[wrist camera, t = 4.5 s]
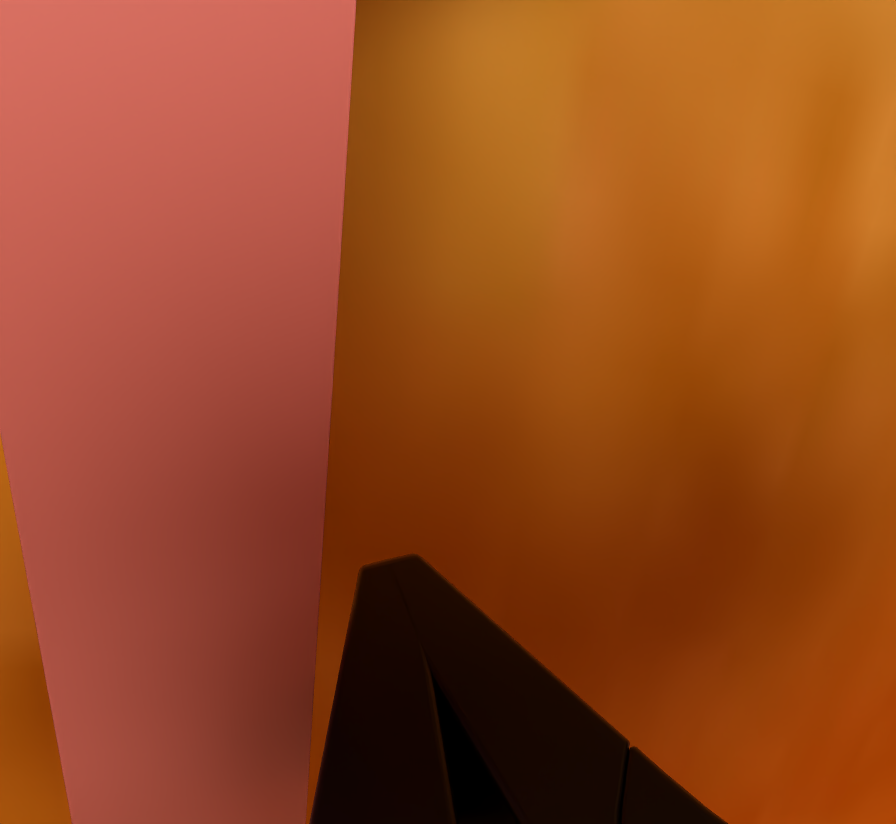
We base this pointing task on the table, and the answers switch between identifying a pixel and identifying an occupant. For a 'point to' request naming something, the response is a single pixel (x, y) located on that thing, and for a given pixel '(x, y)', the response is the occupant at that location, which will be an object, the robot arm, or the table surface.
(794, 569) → the table surface
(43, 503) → the lever
